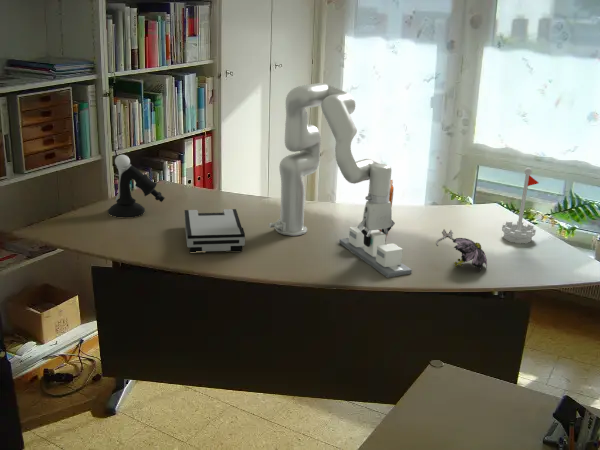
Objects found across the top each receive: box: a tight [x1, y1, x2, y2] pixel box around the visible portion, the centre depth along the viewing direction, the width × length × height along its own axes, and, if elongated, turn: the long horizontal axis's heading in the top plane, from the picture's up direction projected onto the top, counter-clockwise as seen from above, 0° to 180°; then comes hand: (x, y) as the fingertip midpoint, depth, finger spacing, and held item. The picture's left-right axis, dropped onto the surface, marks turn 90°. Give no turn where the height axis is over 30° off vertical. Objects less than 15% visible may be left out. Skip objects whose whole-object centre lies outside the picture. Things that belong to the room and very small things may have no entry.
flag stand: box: [501, 167, 539, 244], centre depth 278 cm, size 13×13×30 cm
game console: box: [184, 208, 246, 253], centre depth 267 cm, size 21×32×8 cm, turn 11°
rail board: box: [338, 237, 413, 279], centre depth 257 cm, size 10×35×2 cm, turn 26°
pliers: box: [435, 228, 460, 247], centre depth 279 cm, size 10×1×20 cm
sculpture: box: [107, 154, 166, 218], centre depth 290 cm, size 15×24×25 cm, turn 94°
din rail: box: [347, 237, 403, 272], centre depth 257 cm, size 4×34×1 cm, turn 26°
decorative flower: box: [452, 237, 488, 272], centre depth 251 cm, size 14×12×15 cm
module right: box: [376, 243, 404, 267], centre depth 247 cm, size 7×6×6 cm
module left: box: [348, 225, 365, 247], centre depth 264 cm, size 7×6×6 cm
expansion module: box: [364, 230, 387, 257], centre depth 256 cm, size 5×6×8 cm
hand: (374, 244), depth 256 cm, fingers open, 6 cm apart
